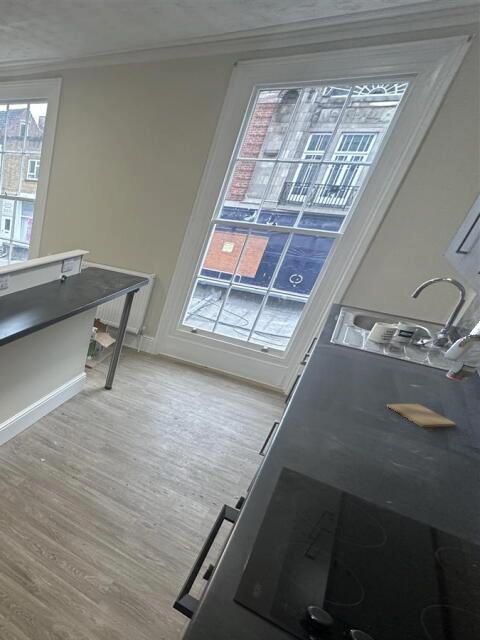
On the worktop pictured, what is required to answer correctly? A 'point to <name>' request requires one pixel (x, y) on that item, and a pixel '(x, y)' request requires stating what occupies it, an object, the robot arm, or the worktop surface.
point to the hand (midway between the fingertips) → (461, 371)
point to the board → (421, 415)
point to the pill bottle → (464, 371)
